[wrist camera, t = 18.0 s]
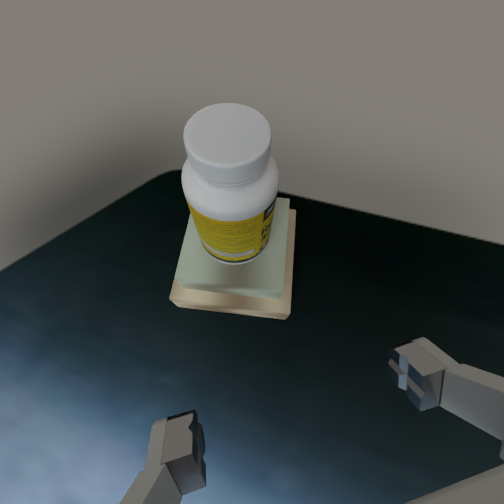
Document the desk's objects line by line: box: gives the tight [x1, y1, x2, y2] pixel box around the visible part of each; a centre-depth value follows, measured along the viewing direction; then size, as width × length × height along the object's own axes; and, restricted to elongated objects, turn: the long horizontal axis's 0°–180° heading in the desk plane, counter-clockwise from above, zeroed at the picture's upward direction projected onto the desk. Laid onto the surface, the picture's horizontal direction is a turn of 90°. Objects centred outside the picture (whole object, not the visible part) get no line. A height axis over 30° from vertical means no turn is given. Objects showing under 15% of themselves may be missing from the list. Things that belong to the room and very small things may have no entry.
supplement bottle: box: [182, 103, 279, 265], centre depth 16 cm, size 5×5×10 cm
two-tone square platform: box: [169, 198, 296, 320], centre depth 23 cm, size 10×10×6 cm
